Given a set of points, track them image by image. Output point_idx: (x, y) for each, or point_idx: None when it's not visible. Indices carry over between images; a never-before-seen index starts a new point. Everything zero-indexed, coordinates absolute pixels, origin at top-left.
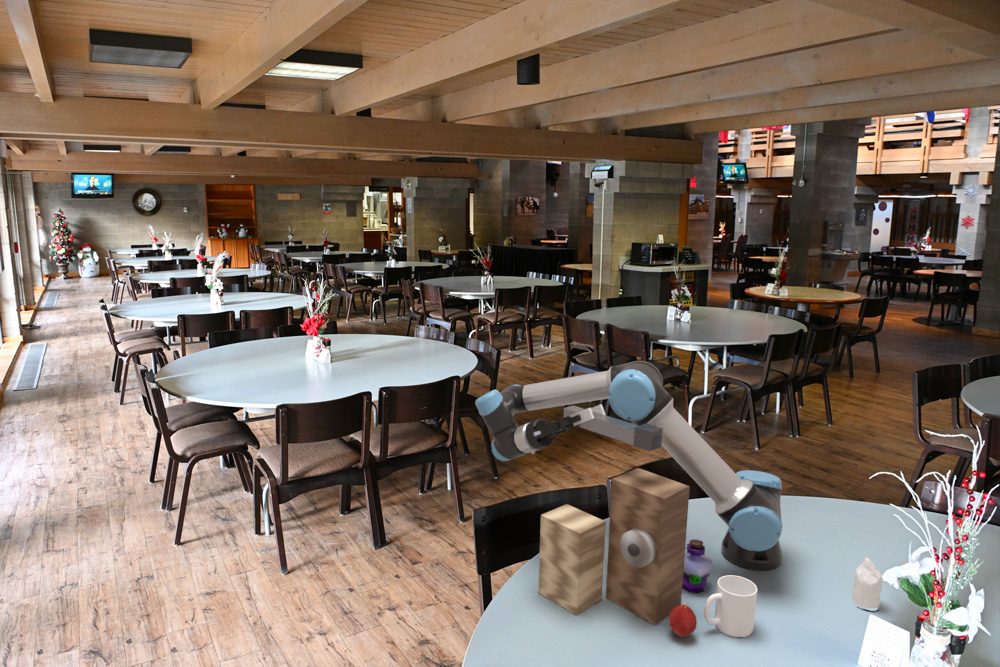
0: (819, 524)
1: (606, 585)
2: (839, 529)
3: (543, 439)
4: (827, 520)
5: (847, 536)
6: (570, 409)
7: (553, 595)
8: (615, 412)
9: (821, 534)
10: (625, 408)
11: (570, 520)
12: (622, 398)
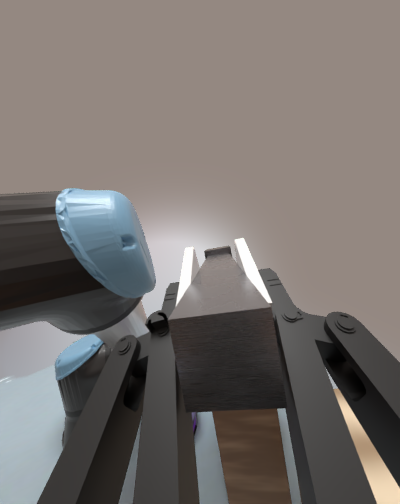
0: (20, 410)
1: (289, 490)
2: (34, 395)
3: None
4: (10, 409)
5: (50, 386)
6: (248, 291)
7: None
8: (147, 283)
9: (45, 400)
10: (149, 265)
11: (360, 437)
12: (142, 244)
